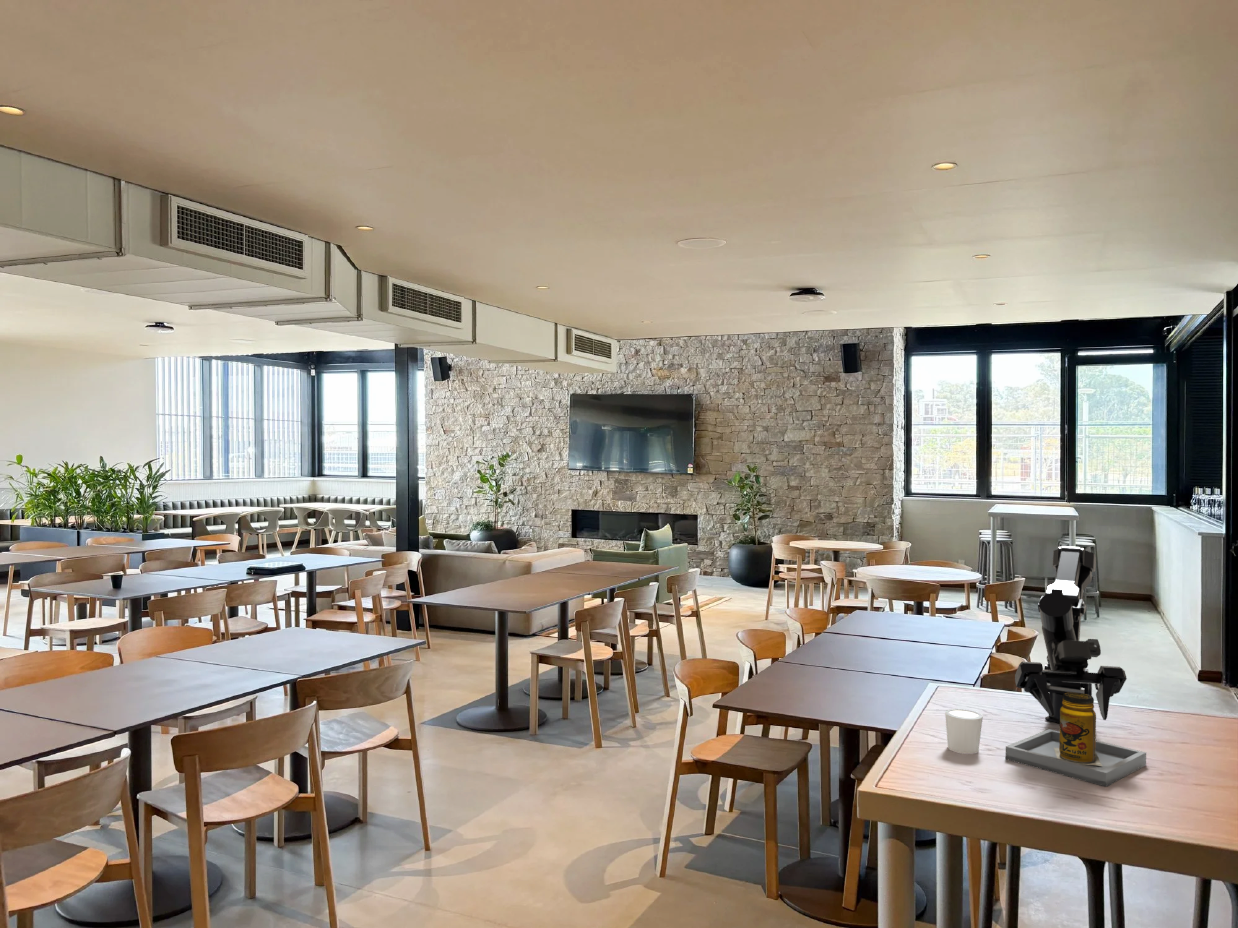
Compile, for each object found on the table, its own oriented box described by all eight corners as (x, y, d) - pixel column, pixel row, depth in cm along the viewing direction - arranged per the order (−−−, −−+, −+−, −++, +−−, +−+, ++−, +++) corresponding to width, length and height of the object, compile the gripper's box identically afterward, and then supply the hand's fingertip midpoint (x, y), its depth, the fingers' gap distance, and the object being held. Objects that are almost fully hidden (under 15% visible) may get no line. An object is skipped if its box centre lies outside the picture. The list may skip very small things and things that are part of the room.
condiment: (1058, 761, 168) (1059, 697, 168) (1053, 748, 176) (1055, 686, 175) (1102, 767, 165) (1104, 701, 165) (1095, 753, 173) (1097, 690, 173)
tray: (1005, 758, 171) (1005, 746, 171) (1048, 740, 183) (1049, 728, 183) (1105, 786, 157) (1106, 772, 157) (1145, 765, 169) (1146, 752, 169)
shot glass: (964, 756, 172) (965, 720, 172) (936, 746, 178) (937, 710, 178) (989, 751, 175) (990, 715, 175) (961, 741, 181) (962, 706, 181)
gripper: (1020, 620, 175) (1034, 691, 165) (1124, 624, 172) (1146, 697, 161) (1008, 651, 183) (1022, 722, 172) (1108, 657, 180) (1128, 728, 169)
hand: (1078, 717), depth 169 cm, fingers open, 9 cm apart
